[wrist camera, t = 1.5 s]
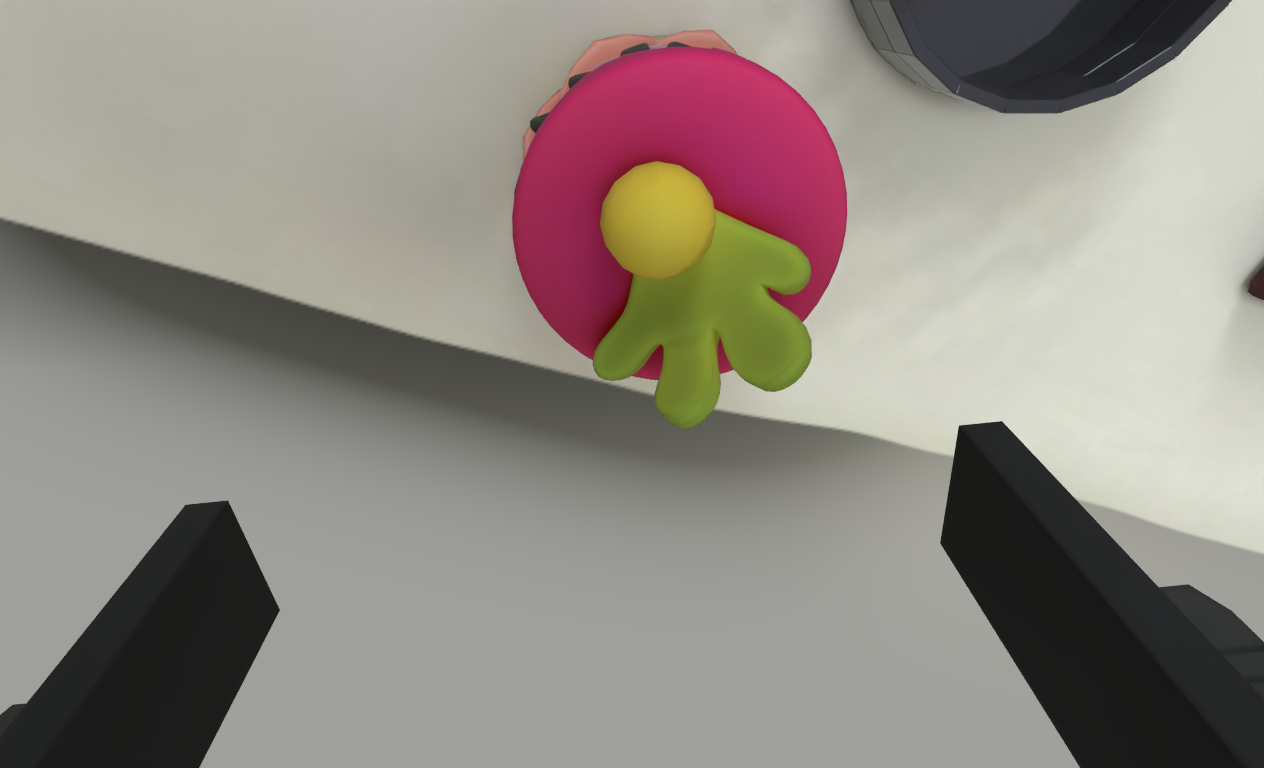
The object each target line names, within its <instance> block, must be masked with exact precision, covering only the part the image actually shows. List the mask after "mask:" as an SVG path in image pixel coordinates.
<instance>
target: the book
mask: <svg viewBox="0 0 1264 768" xmlns="http://www.w3.org/2000/svg"><path fill="white" fill-rule="evenodd" d="M1248 292H1249V293H1250V294H1251V295H1253V296H1255V297H1257V298H1260V299H1262V300H1264V267H1263V268H1262V269H1261V270H1260V272H1259V273H1258V274H1257V275H1256V276H1255V277H1254V279H1253V280H1252V281H1251V283H1250V286H1249V289H1248Z"/></svg>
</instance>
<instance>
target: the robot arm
mask: <svg viewBox="0 0 1264 768" xmlns="http://www.w3.org/2000/svg"><path fill="white" fill-rule="evenodd" d="M940 543H941V545H942V547H943V548H944V550H945V552H946V553H947V555H948V556H949V558H950V560H951V561H952V563H953V564H954V566H955V567H956V569H957V571H958V572H959V574H960V575H961V577H962V579H963V580H964V582H965V584H966V585H967V587H968V588H969V590H970V592H971V593H972V595H973V596H974V598H975V600H976V601H977V603H978V604H979V606H980V607H981V609H982V611H983V612H984V614H985V616H986V617H987V619H988V620H989V622H990V624H991V625H992V627H993V629H994V630H995V631H996V633H997V635H998V636H999V638H1000V640H1001V641H1002V643H1003V644H1004V646H1005V648H1006V649H1007V651H1008V652H1009V654H1010V656H1011V657H1012V659H1013V661H1014V662H1015V664H1016V665H1017V667H1018V669H1019V670H1020V672H1021V673H1022V675H1023V676H1024V678H1025V680H1026V681H1027V683H1028V684H1029V686H1030V688H1031V689H1032V691H1033V692H1034V694H1035V696H1036V697H1037V699H1038V701H1039V702H1040V704H1041V705H1042V707H1043V709H1044V710H1045V712H1046V714H1047V715H1048V717H1049V718H1050V719H1051V721H1052V723H1053V725H1054V726H1055V728H1056V730H1057V731H1058V733H1059V734H1060V736H1061V738H1062V739H1063V741H1064V742H1065V744H1066V746H1067V747H1068V749H1069V750H1070V752H1071V754H1072V755H1073V757H1074V758H1075V760H1076V762H1077V763H1078V765H1079V766H1080V768H1264V642H1263V641H1262V640H1261V639H1260V638H1259V637H1258V636H1257V635H1256V634H1255V633H1254V632H1253V631H1252V630H1251V629H1250V628H1249V627H1248V626H1247V625H1246V624H1244V622H1243V621H1242V620H1241V619H1239V618H1238V617H1237V616H1236V615H1235V614H1234V613H1233V612H1232V611H1231V610H1229V609H1228V608H1226V607H1224V606H1223V605H1221V604H1219V603H1218V602H1216V601H1215V600H1213V599H1211V598H1210V597H1208V596H1206V595H1205V594H1203V593H1201V592H1200V591H1198V590H1197V589H1195V588H1193V587H1191V586H1190V585H1179V586H1169V587H1158V586H1157V585H1156V584H1155V583H1154V582H1153V581H1152V580H1151V579H1150V578H1149V577H1148V576H1147V575H1146V574H1145V573H1144V571H1143V570H1142V569H1141V568H1140V567H1139V566H1138V565H1137V564H1136V563H1135V562H1134V561H1133V560H1132V559H1131V558H1130V557H1129V555H1128V554H1127V553H1126V552H1125V551H1124V550H1123V549H1122V548H1121V547H1120V546H1119V545H1118V544H1117V543H1116V542H1115V541H1114V540H1113V538H1111V536H1110V535H1109V534H1108V533H1107V532H1106V531H1105V530H1104V529H1103V528H1102V527H1101V526H1100V525H1099V524H1098V523H1097V522H1096V520H1095V519H1094V518H1093V517H1092V516H1091V515H1090V514H1089V513H1088V512H1087V511H1086V510H1085V509H1084V508H1083V507H1082V506H1081V505H1080V504H1079V502H1078V501H1077V500H1076V499H1075V498H1074V497H1073V496H1072V495H1071V494H1070V493H1069V492H1068V491H1067V490H1066V489H1065V488H1064V487H1063V485H1062V484H1061V483H1060V482H1059V481H1058V480H1057V479H1056V478H1055V477H1054V476H1053V475H1052V474H1051V473H1050V472H1049V471H1048V470H1047V469H1046V467H1045V466H1044V465H1043V464H1042V463H1041V462H1040V461H1039V460H1038V459H1037V458H1036V457H1035V456H1034V455H1033V454H1032V453H1031V452H1030V451H1029V449H1028V448H1027V447H1026V446H1025V445H1024V444H1023V443H1022V442H1021V441H1020V440H1019V439H1018V438H1017V437H1016V436H1015V435H1014V434H1013V433H1012V431H1011V430H1010V429H1009V428H1008V427H1007V426H1006V425H1005V424H1004V423H1003V422H1002V421H1000V422H991V423H981V424H971V425H961V426H959V429H958V435H957V441H956V448H955V454H954V460H953V467H952V473H951V479H950V486H949V492H948V498H947V505H946V510H945V517H944V523H943V530H942V536H941V542H940ZM279 611H280V609H279V607H278V605H277V603H276V601H275V599H274V597H273V595H272V593H271V591H270V588H269V587H268V584H267V582H266V580H265V578H264V576H263V574H262V571H261V569H260V567H259V565H258V563H257V561H256V559H255V557H254V555H253V553H252V550H251V548H250V546H249V544H248V542H247V540H246V538H245V536H244V533H243V531H242V529H241V527H240V525H239V523H238V521H237V519H236V517H235V514H234V512H233V510H232V508H231V506H230V504H229V502H228V501H219V502H210V503H200V504H190V505H185V506H184V508H183V509H182V510H181V512H180V513H179V514H178V515H177V516H176V518H175V519H174V520H173V521H172V523H171V524H170V525H169V526H168V528H167V529H166V530H165V531H164V533H163V534H162V535H161V536H160V538H159V539H158V540H157V542H156V543H155V544H154V545H153V546H152V548H151V549H150V550H149V551H148V553H147V554H146V555H145V556H144V558H143V559H142V560H141V561H140V563H139V564H138V565H137V566H136V568H135V569H134V570H133V572H132V573H131V574H130V575H129V576H128V578H127V579H126V580H125V581H124V583H123V584H122V585H121V586H120V588H119V589H118V590H117V591H116V593H115V594H114V595H113V596H112V598H111V599H110V600H109V601H108V603H107V604H106V605H105V606H104V608H103V609H102V610H101V612H100V613H99V614H98V615H97V616H96V618H95V619H94V620H93V621H92V623H91V624H90V625H89V626H88V628H87V629H86V630H85V631H84V633H83V634H82V635H81V636H80V638H79V639H78V640H77V641H76V643H75V644H74V645H73V646H72V648H71V649H70V650H69V651H68V653H67V654H66V655H65V656H64V658H63V659H62V660H61V661H60V663H59V664H58V665H57V666H56V668H55V669H54V670H53V671H52V673H51V674H50V675H49V676H48V678H47V679H46V680H45V681H44V683H43V684H42V685H41V686H40V688H39V689H38V690H37V691H36V693H35V694H34V695H33V696H32V698H31V699H30V700H29V701H28V703H27V704H16V705H12V706H11V707H9V708H8V709H7V710H6V711H5V712H3V713H2V714H1V715H0V768H199V767H200V765H201V763H202V761H203V759H204V757H205V755H206V753H207V751H208V749H209V747H210V745H211V743H212V741H213V740H214V738H215V736H216V733H217V732H218V730H219V728H220V726H221V724H222V722H223V720H224V718H225V716H226V714H227V712H228V710H229V708H230V706H231V704H232V702H233V700H234V699H235V696H236V695H237V692H238V691H239V689H240V687H241V685H242V683H243V681H244V679H245V677H246V675H247V673H248V671H249V669H250V667H251V665H252V663H253V661H254V659H255V658H256V656H257V654H258V652H259V650H260V648H261V646H262V644H263V642H264V640H265V638H266V636H267V634H268V632H269V630H270V628H271V626H272V624H273V622H274V620H275V618H276V616H277V614H278V612H279Z"/></svg>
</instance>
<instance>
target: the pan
mask: <svg viewBox="0 0 1264 768" xmlns="http://www.w3.org/2000/svg"><path fill="white" fill-rule="evenodd" d="M851 1H852V4H853V6H854V9H855V12H856V14H857V17H858V20H859V21H860V23H861V25H862V27H863V29H864V31H865V33H866V34H867V36H868V38H869V40H870V41H871V42H872V44H873V45H874V46H875V48H876V49H877V50H878V52H879V53H880V54H881V56H883V57H884V58H885V59H886V60H887V61H888V62H889V63H890V64H891V65H892V66H893V67H894V68H895V69H896V70H897V71H899V72H900V73H902V74H903V75H904V76H906V77H907V78H909V79H910V80H911V81H913V82H914V83H916V84H919V85H921V86H924V87H926V88H928V89H931V90H934V91H937V92H939V93H942V94H945V95H947V96H950V97H952V98H955V99H958V100H961V101H964V102H968V103H971V104H974V105H978V106H981V107H984V108H987V109H990V110H994V111H997V112H1000V113H1053V114H1057V113H1062V112H1065V111H1068V110H1071V109H1074V108H1077V107H1081V106H1084V105H1087V104H1090V103H1093V102H1096V101H1099V100H1102V99H1105V98H1109V97H1112V96H1115V95H1117V94H1119V93H1121V92H1123V91H1124V90H1126V89H1127V88H1129V87H1130V86H1132V85H1134V84H1135V83H1137V82H1138V81H1140V80H1141V79H1143V78H1145V77H1146V76H1148V75H1149V74H1151V73H1152V72H1154V71H1156V70H1157V69H1159V68H1160V67H1162V66H1163V65H1165V64H1167V63H1168V62H1170V61H1171V60H1173V59H1174V58H1175V57H1177V56H1178V55H1179V54H1180V53H1181V52H1182V51H1183V50H1184V49H1185V48H1186V47H1187V46H1188V45H1189V44H1190V43H1191V42H1192V41H1193V40H1194V39H1195V38H1196V37H1197V36H1198V35H1199V34H1200V33H1201V32H1202V31H1203V30H1204V29H1205V28H1206V27H1207V26H1208V25H1209V24H1210V23H1211V22H1212V21H1213V20H1214V19H1215V18H1216V17H1217V16H1218V15H1219V14H1220V13H1221V12H1222V11H1223V10H1224V9H1225V8H1226V7H1227V6H1228V5H1229V3H1230V2H1231V1H1232V0H851Z"/></svg>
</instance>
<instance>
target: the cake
mask: <svg viewBox="0 0 1264 768" xmlns="http://www.w3.org/2000/svg"><path fill="white" fill-rule="evenodd" d="M523 160H524V161H523V164H522V167H521V171H520V175H519V177H518V181H517V184H516V188H515V193H514V195H515V197H514V206H513V216H512V222H513V242H514V248H515V254H516V259H517V263H518V266H519V269H520V272H521V275H522V278H523V281H524V283H525V285H526V287H527V290H528V292H529V294H530V296H531V298H532V300H533V301H534V303H535V305H536V306H537V308H538V310H539V312H540V313H541V314H542V315H543V317H544V318H545V319H546V321H547V322H548V323H549V325H550V326H551V327H552V328H553V329H554V330H555V331H556V332H557V333H558V334H559V335H560V336H561V337H562V338H563V339H564V340H565V341H566V342H567V343H569V344H570V345H571V346H572V347H574V348H575V349H576V350H578V351H579V352H580V353H581V354H583V355H585V356H587V357H588V358H590V359H592V360H593V366H594V370H595V372H596V373H597V375H598V376H599V377H600V378H602V379H605V380H611V381H615V380H622V379H625V378H628V377H630V376H634V377H640V378H646V379H651V380H659V381H658V384H657V388H656V392H655V403H656V406H657V408H658V410H659V411H660V413H661V414H662V416H663V417H664V418H665V419H666V420H667V421H668V422H669V423H671V424H673V425H675V426H677V427H679V428H684V429H690V428H692V427H694V426H696V425H698V424H700V423H701V422H702V421H703V420H704V419H706V418H707V416H708V415H709V414H710V413H711V412H712V410H713V409H714V407H715V405H716V403H717V401H718V397H719V394H720V386H721V381H720V374H722V373H725V372H728V371H731V370H733V369H734V370H735V371H736V372H737V373H738V374H739V375H740V376H741V377H742V378H743V379H744V380H745V381H747V382H748V383H750V384H752V385H754V386H756V387H758V388H760V389H762V390H765V391H771V392H775V391H779V390H783V389H785V388H787V387H789V386H791V385H792V384H793V383H795V382H796V381H797V380H798V379H799V378H800V377H801V376H802V375H803V373H804V372H805V370H806V369H807V367H808V365H809V363H810V360H811V357H812V354H811V339H810V336H809V334H808V331H807V329H806V327H805V326H804V324H803V323H802V322H803V321H804V320H805V319H806V318H807V316H808V315H809V314H810V313H811V311H812V310H813V309H814V307H815V306H816V305H817V303H818V302H819V300H820V299H821V297H822V295H823V293H824V292H825V290H826V288H827V287H828V285H829V283H830V280H831V278H832V276H833V274H834V272H835V269H836V267H837V264H838V261H839V258H840V254H841V251H842V248H843V242H844V237H845V232H846V221H847V192H846V186H845V180H844V174H843V170H842V166H841V163H840V160H839V157H838V154H837V151H836V148H835V145H834V143H833V141H832V139H831V137H830V135H829V133H828V131H827V129H826V127H825V126H824V124H823V123H822V121H821V120H820V118H819V117H818V115H817V114H816V112H815V111H814V110H813V108H812V107H811V106H810V105H809V104H808V103H807V102H806V101H805V100H804V98H803V97H802V96H801V95H800V94H799V93H798V92H797V91H796V90H794V89H793V88H792V87H791V86H789V85H788V84H787V83H786V82H785V81H783V80H782V79H781V78H780V77H778V76H777V75H775V74H773V73H772V72H770V71H768V70H767V69H765V68H763V67H762V66H760V65H758V64H756V63H754V62H752V61H749V60H747V59H745V58H743V57H741V56H739V55H737V54H736V52H735V50H734V48H732V47H731V46H730V45H729V44H728V43H727V42H726V41H725V40H724V39H722V38H721V37H720V36H719V35H718V34H717V33H716V32H715V31H714V30H699V31H683V32H680V33H678V34H675V35H672V36H654V37H649V36H639V35H627V34H623V35H619V36H614V37H610V38H606V39H602V40H597V41H594V42H593V43H592V44H591V45H590V46H589V48H588V49H587V50H586V51H585V53H584V54H583V55H582V56H581V57H580V59H579V60H578V61H577V62H576V63H575V65H574V66H573V67H572V69H571V71H570V73H569V75H568V77H567V79H566V82H565V84H564V86H563V88H562V89H561V90H559V91H558V92H557V93H555V94H554V95H553V96H552V97H551V98H550V99H549V100H548V101H547V102H546V103H545V104H544V105H543V106H542V107H541V108H540V110H539V111H538V113H537V115H536V116H535V118H533V119H532V120H531V121H530V126H529V128H528V130H527V131H526V133H525V135H524V137H523Z"/></svg>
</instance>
